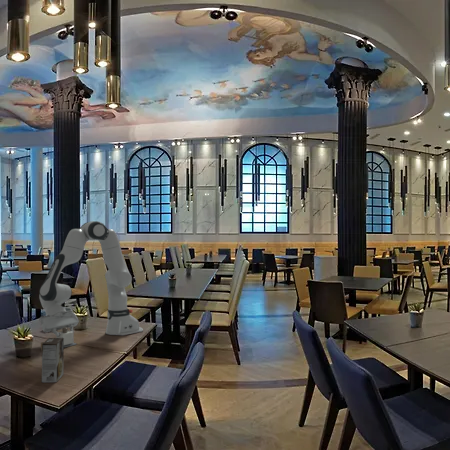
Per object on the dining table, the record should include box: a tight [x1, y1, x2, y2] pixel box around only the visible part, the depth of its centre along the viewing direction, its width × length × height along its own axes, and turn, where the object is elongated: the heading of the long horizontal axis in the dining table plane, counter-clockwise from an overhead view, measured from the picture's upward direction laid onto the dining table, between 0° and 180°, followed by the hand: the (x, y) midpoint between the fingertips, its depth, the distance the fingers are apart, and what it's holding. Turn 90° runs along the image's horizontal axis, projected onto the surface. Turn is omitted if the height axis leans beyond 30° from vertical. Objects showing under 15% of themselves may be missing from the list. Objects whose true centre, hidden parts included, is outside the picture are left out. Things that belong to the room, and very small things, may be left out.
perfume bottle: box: [55, 327, 75, 345], centre depth 223 cm, size 6×6×8 cm
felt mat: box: [64, 342, 78, 348], centre depth 223 cm, size 9×9×1 cm
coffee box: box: [41, 337, 65, 383], centre depth 173 cm, size 9×6×16 cm
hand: (65, 334), depth 222 cm, fingers open, 7 cm apart
